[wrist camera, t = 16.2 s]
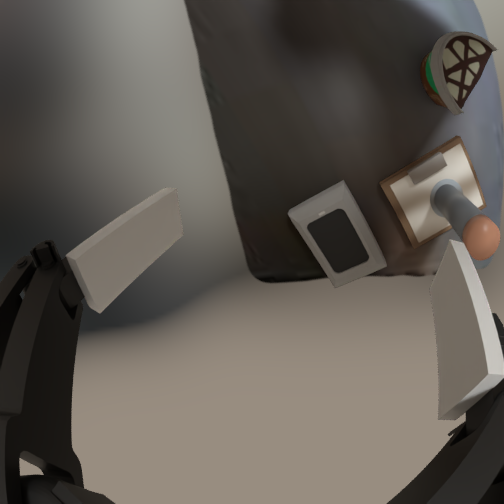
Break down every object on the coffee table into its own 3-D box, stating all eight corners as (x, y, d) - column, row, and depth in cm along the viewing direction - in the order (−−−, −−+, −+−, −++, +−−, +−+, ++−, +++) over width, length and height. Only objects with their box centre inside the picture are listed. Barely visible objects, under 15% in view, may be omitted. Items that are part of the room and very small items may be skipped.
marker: (429, 192, 32) (464, 234, 21) (453, 178, 29) (496, 215, 19) (440, 218, 33) (473, 266, 22) (463, 204, 30) (502, 248, 20)
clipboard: (378, 182, 35) (381, 187, 33) (456, 135, 27) (463, 137, 25) (412, 245, 38) (415, 253, 36) (483, 203, 30) (489, 209, 28)
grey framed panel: (334, 292, 43) (285, 218, 38) (335, 279, 46) (289, 208, 41) (388, 270, 38) (344, 186, 34) (384, 258, 41) (343, 179, 37)
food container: (432, 26, 20) (459, 9, 11) (465, 55, 20) (498, 47, 12) (397, 83, 27) (418, 77, 18) (431, 111, 27) (461, 116, 19)
